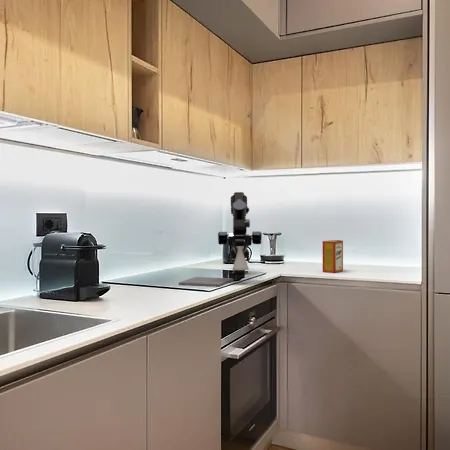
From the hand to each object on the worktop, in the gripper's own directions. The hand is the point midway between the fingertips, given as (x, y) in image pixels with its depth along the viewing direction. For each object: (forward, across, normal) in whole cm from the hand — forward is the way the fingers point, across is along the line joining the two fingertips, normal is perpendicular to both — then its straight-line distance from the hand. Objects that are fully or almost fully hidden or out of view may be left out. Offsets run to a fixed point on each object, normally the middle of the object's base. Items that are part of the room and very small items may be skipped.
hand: (240, 252), depth 197 cm
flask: (+5, 0, +6) cm, 8 cm away
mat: (+6, -14, +13) cm, 20 cm away
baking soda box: (-18, +47, +38) cm, 63 cm away
